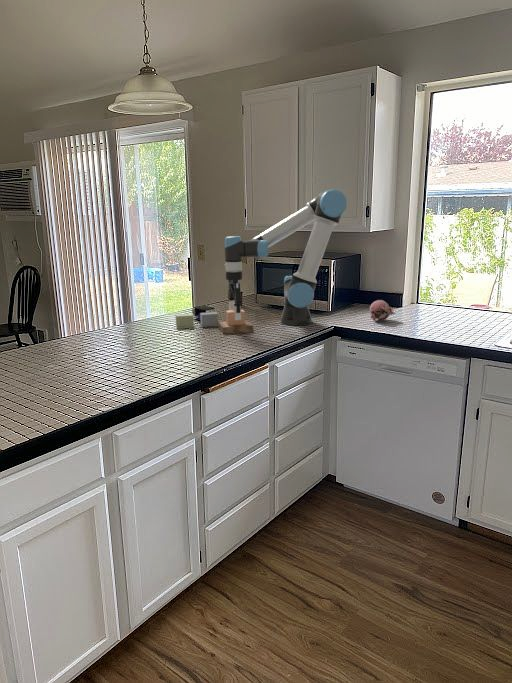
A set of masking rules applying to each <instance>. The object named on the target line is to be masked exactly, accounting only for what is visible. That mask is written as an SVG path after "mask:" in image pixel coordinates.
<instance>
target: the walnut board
mask: <svg viewBox="0 0 512 683" xmlns="http://www.w3.org/2000/svg"><path fill="white" fill-rule="evenodd" d="M217 327H218V329H219V331H220V332H221V334H223V335H227V334H240V333H242V334H243V333H252V332H254V325H253V324H252V323H251V322H250V321H249V320H248V319H245V324H241V325H227V323H226V321H218V326H217Z"/></svg>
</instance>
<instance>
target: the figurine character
mask: <svg viewBox="0 0 512 683" xmlns="http://www.w3.org/2000/svg"><path fill="white" fill-rule="evenodd" d="M191 310H192V311H191V312H192V313H191V314H193V316H194V317H195V318H196V320H200V313H208V311H212V310H215V307H212V306H208V305H201V306H195V307H194V308H192V309H191Z"/></svg>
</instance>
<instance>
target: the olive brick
mask: <svg viewBox="0 0 512 683" xmlns="http://www.w3.org/2000/svg"><path fill="white" fill-rule="evenodd" d="M174 315H175V327H176V329H179V330H180V329H192V328H194V327H195V324H194V323H195V322H194V315H193V313H180V314H174Z"/></svg>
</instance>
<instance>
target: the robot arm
mask: <svg viewBox="0 0 512 683" xmlns="http://www.w3.org/2000/svg"><path fill="white" fill-rule="evenodd" d="M347 206H348V199H347V198H346V195H345V194H344V193H343V192H342V191H341V190H338V189H335V188H330V189H329V188H328V189H326V190H324V191H321V192H320V193H319V194H318V195H317V196H315V197H314V198H313V199H311V200H310V201H308V202H306V205H305V206H304V207H302V208H300V209H299V210H298V211H296V212H294V213H292V214H290V215H289V216H288V217H285V218H283V220H281V221H279V222H277V223H276V224H274V225H272V226H271V227H269V228H267V229H266V230H265V231H263V232H261V233H260V234H258V235H256V236H254V237H253V238H250V239H248V240H242V236H240V235H232V236H230V235H229V236H226V237H225V238H224V260H225V264H223V266H224V267H225V271H226V272H225V280H226V281H228V288H227V290H228V291H227V298H228V310H235V320H241V310H242V306H243V302H242V301H243V300H242V294H241V283H240V282H239V281H241V280H242V279H243V258H244V259H245V258H259V259H260V258H267V257H268V256H269V248H270V247H272V246H273V245H275V244H277V243H278V242H280V241H282V240H284V239H286V238H287V237H289V236H291V235H292V234H294V233H295V232H297V231H298V230H301V229H302V228H303V227H305V226H308V225H309V224H311V223H312V222H314V223H313V227H312V230H311V232H310V235H309V239H308V241H307V243H306V246H305V249H304V253H303V255H302V258H301V261H300V264H299V266H298V269H297V271H296V272H294V273H293V274H292V275H286V276H285V277H284V278H283V279H284V280H283V287H284V288H283V294H284V295H283V296H284V298H283V300H284V302H283V304H284V305H283V310H282V312H281V316H280V323H281V324H283V325H287V326H305V325H310V324H311V323H312V320H313V319H312V318H313V317H312V315H311V311H310V308H309V305H310V304H311V303H312V302H313V300H314V297H315V290H316V286H317V284H318V281H317V279H316V277H317V274H318V271H319V267H320V265H321V262H322V260H323V257H324V254H325V252H326V248H327V246H328V244H329V240H330V237H331V234H332V232H333V229H334V227H335V226H338V225H339V223H340V220H341V217H342V215H343V214H344V213H345V211H346V209H347Z"/></svg>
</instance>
